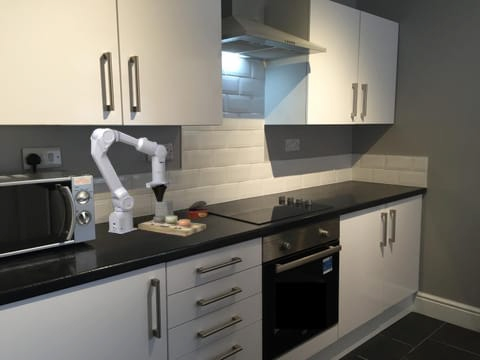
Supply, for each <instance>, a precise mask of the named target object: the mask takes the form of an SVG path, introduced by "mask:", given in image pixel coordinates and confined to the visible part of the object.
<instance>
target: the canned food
mask: <svg viewBox="0 0 480 360" xmlns="http://www.w3.org/2000/svg"><path fill="white" fill-rule="evenodd" d="M207 203H208V202H206V201H204V200H199V201H195V202H194V203H192V205H190V206H189V207H188V208H187V217H188V218H190V219H204V218H208V217H209V210H208V209H207V208H202V207H205V206H207Z"/></svg>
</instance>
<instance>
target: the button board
mask: <svg viewBox="0 0 480 360" xmlns="http://www.w3.org/2000/svg"><path fill="white" fill-rule="evenodd" d="M137 228H138V229H137V230H142V231H149V232H155V233H161V234H167V235H175V236H180V237H181V236H182V237H188V236H191V235H193V234H196V233H199V232H202V231H204V230H207V224H204V223H197V222H191V225H190V226H179V220H178V221H177V222H173V223H169V222H166V219H165V222H162V223H155V222H154V220H153V219H152V220H149V221H145V222H141V223H138V224H137Z"/></svg>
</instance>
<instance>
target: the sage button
mask: <svg viewBox="0 0 480 360" xmlns="http://www.w3.org/2000/svg"><path fill="white" fill-rule="evenodd" d="M178 219H179V218H178V215H174V214H173V215H172V216H166V222H169V223H173V222H177V221H179V220H178Z"/></svg>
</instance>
